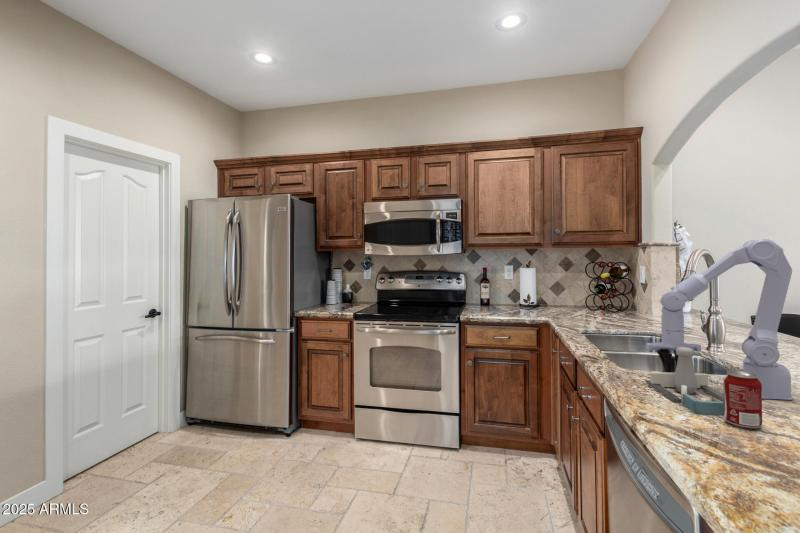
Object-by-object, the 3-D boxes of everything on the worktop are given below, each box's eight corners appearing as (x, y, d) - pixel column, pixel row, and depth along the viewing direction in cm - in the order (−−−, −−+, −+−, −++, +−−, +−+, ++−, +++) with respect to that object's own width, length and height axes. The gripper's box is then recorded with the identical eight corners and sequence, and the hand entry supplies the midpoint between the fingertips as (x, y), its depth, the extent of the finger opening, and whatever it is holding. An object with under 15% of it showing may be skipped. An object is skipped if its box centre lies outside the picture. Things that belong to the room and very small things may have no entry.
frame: (732, 405, 102) (732, 387, 102) (751, 416, 95) (750, 396, 95) (680, 403, 105) (680, 385, 104) (695, 413, 98) (695, 394, 98)
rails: (700, 385, 119) (700, 382, 119) (737, 405, 102) (737, 401, 102) (646, 383, 122) (646, 380, 122) (673, 402, 105) (673, 399, 105)
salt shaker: (702, 395, 110) (701, 350, 110) (679, 394, 111) (678, 349, 111) (691, 389, 116) (690, 345, 116) (669, 388, 117) (669, 345, 117)
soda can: (765, 433, 86) (765, 379, 86) (726, 426, 90) (725, 375, 90) (758, 422, 92) (757, 371, 92) (721, 416, 95) (720, 368, 95)
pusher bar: (692, 379, 123) (692, 356, 123) (708, 388, 115) (708, 362, 115) (640, 378, 126) (640, 354, 126) (652, 386, 118) (652, 361, 118)
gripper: (691, 328, 123) (692, 370, 123) (641, 327, 126) (642, 369, 126) (704, 332, 116) (705, 377, 116) (651, 331, 119) (651, 375, 119)
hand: (673, 373), depth 120 cm, fingers closed on pusher bar, 2 cm apart
